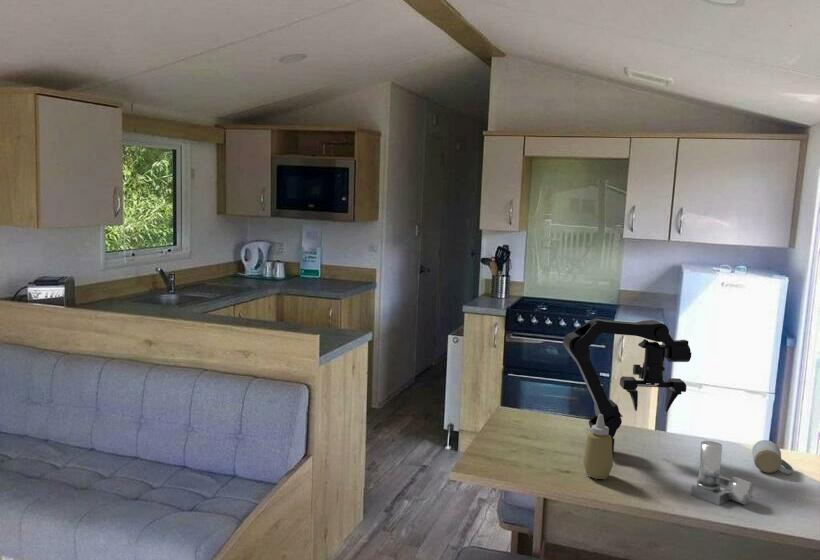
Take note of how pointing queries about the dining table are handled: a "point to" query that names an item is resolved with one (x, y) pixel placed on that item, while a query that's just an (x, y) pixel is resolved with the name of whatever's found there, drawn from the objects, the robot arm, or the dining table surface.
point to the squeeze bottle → (598, 451)
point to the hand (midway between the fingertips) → (650, 411)
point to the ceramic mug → (769, 458)
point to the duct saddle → (726, 491)
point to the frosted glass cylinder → (710, 466)
